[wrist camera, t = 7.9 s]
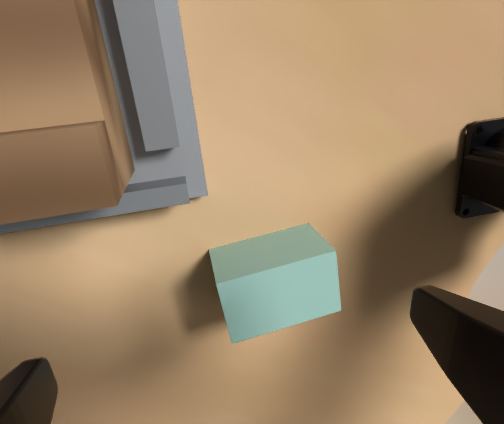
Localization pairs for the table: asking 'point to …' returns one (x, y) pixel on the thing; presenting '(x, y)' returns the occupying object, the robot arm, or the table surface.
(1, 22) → the tan flanged beam
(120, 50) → the jig
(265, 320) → the pale teal rectangular block
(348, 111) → the table surface
